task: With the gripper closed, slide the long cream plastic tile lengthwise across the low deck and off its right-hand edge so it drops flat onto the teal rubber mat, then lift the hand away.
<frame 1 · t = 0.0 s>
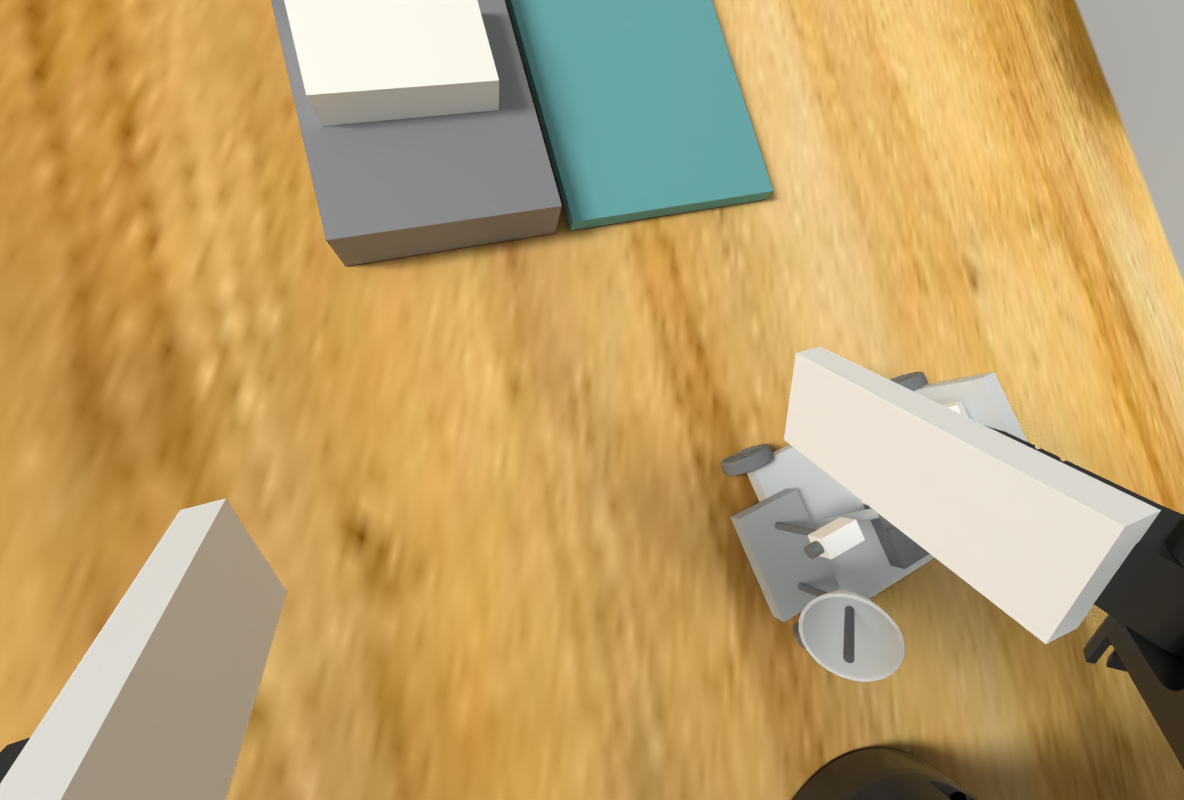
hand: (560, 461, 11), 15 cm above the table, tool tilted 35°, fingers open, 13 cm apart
deck: (420, 108, 27), on the table
toy car: (827, 506, 30), on the table
tile: (401, 66, 24), point 3 cm above the table, touching deck
mat: (635, 89, 31), on the table
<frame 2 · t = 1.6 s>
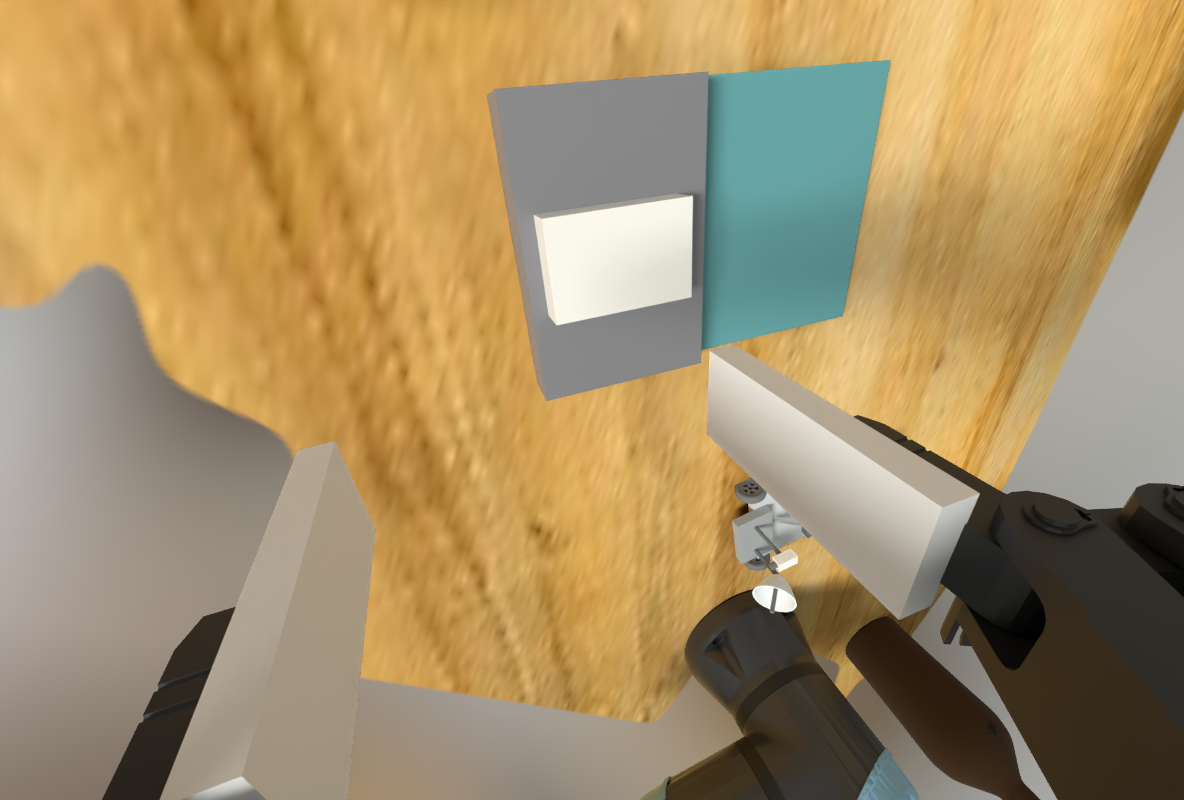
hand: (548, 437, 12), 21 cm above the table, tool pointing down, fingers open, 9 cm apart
deck: (602, 246, 31), on the table
toy car: (781, 497, 51), on the table
tile: (611, 255, 29), point 3 cm above the table, touching deck
mat: (777, 216, 34), on the table
olive oil: (867, 636, 75), on the table
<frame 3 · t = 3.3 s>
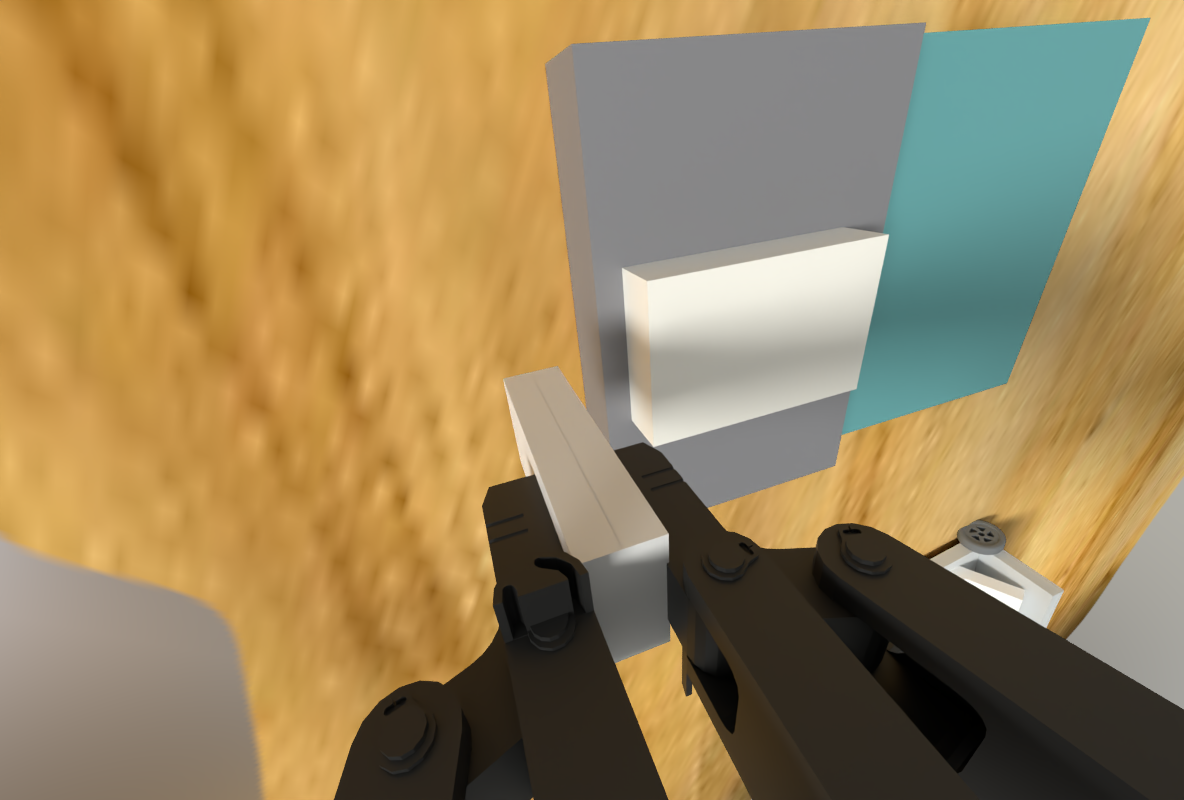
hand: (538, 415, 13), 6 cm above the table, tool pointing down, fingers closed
deck: (705, 303, 20), on the table
toy car: (882, 599, 40), on the table
tile: (735, 326, 18), point 3 cm above the table, touching deck
mat: (946, 251, 24), on the table
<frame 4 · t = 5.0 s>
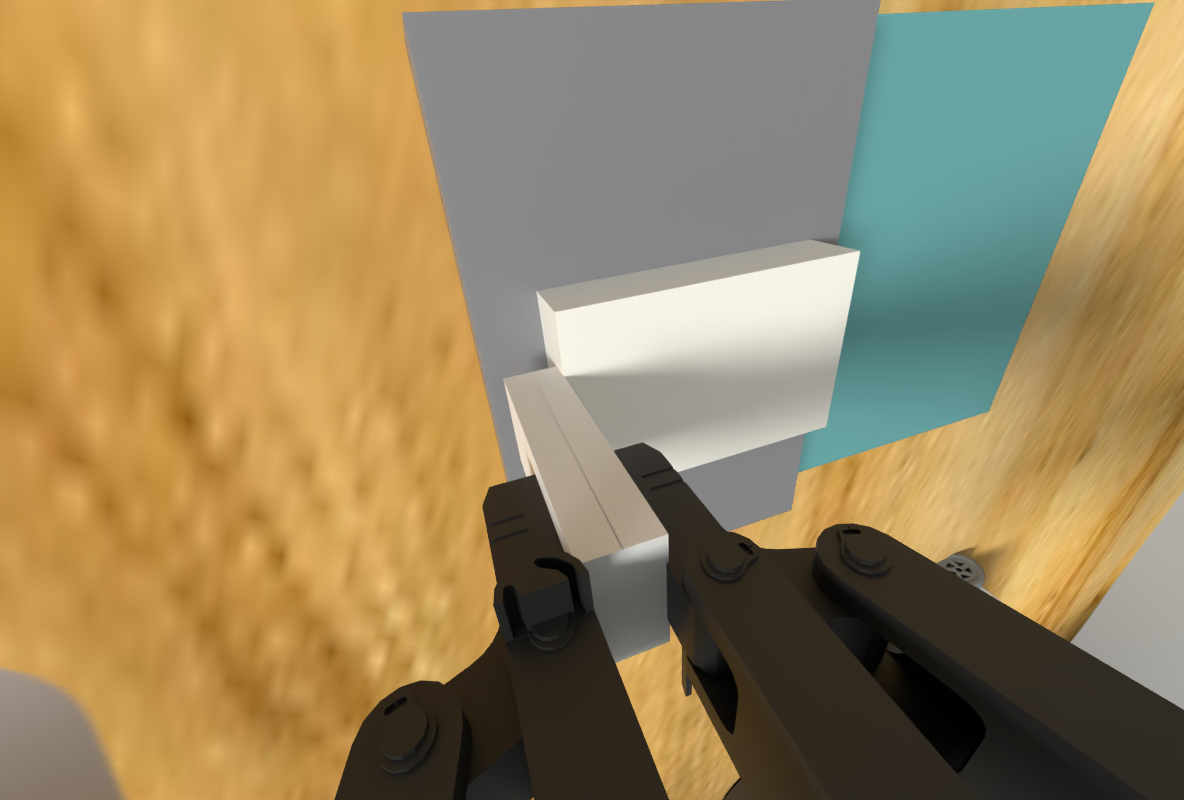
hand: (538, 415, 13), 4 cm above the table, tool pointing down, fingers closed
deck: (636, 329, 18), on the table
toy car: (855, 635, 38), on the table
tile: (683, 355, 15), point 3 cm above the table, touching deck, gripper
mat: (920, 269, 21), on the table
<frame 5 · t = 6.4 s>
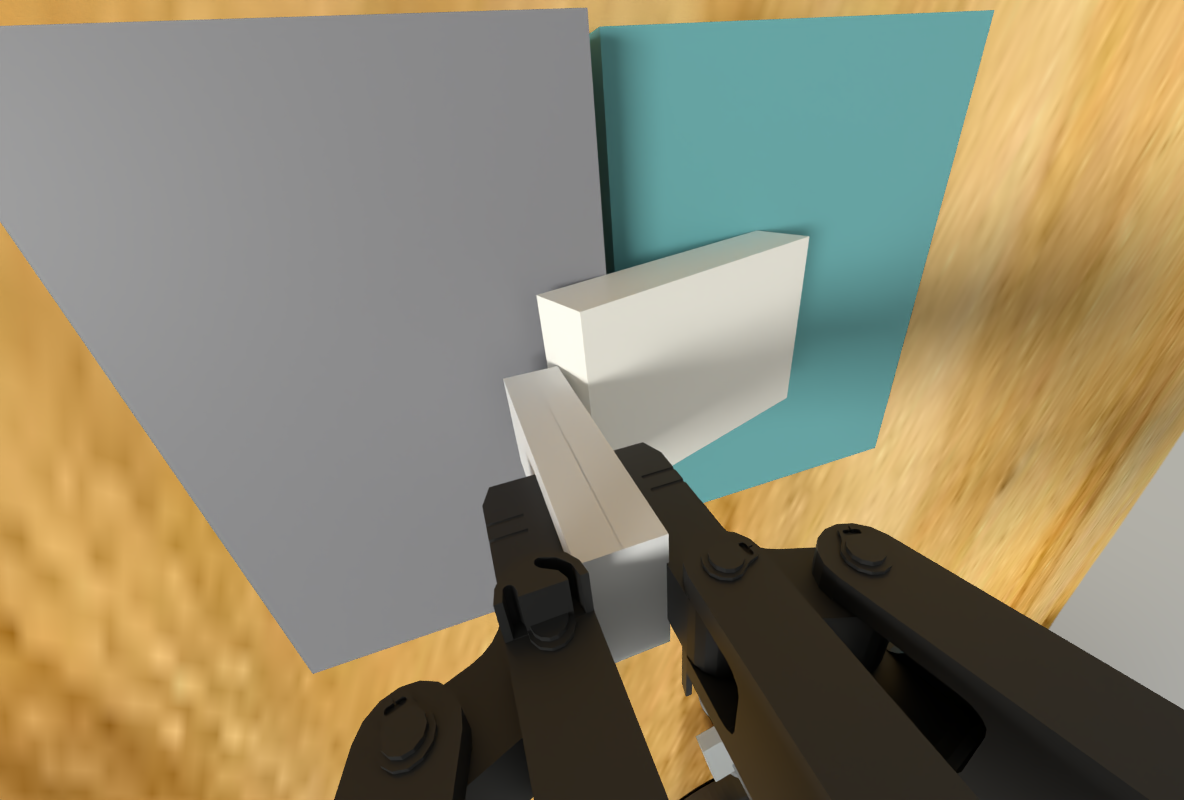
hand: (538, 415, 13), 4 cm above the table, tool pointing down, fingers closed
deck: (417, 376, 16), on the table
toy car: (771, 674, 36), on the table
tile: (664, 347, 16), point 2 cm above the table, tilted 17°, touching gripper
mat: (767, 301, 19), on the table
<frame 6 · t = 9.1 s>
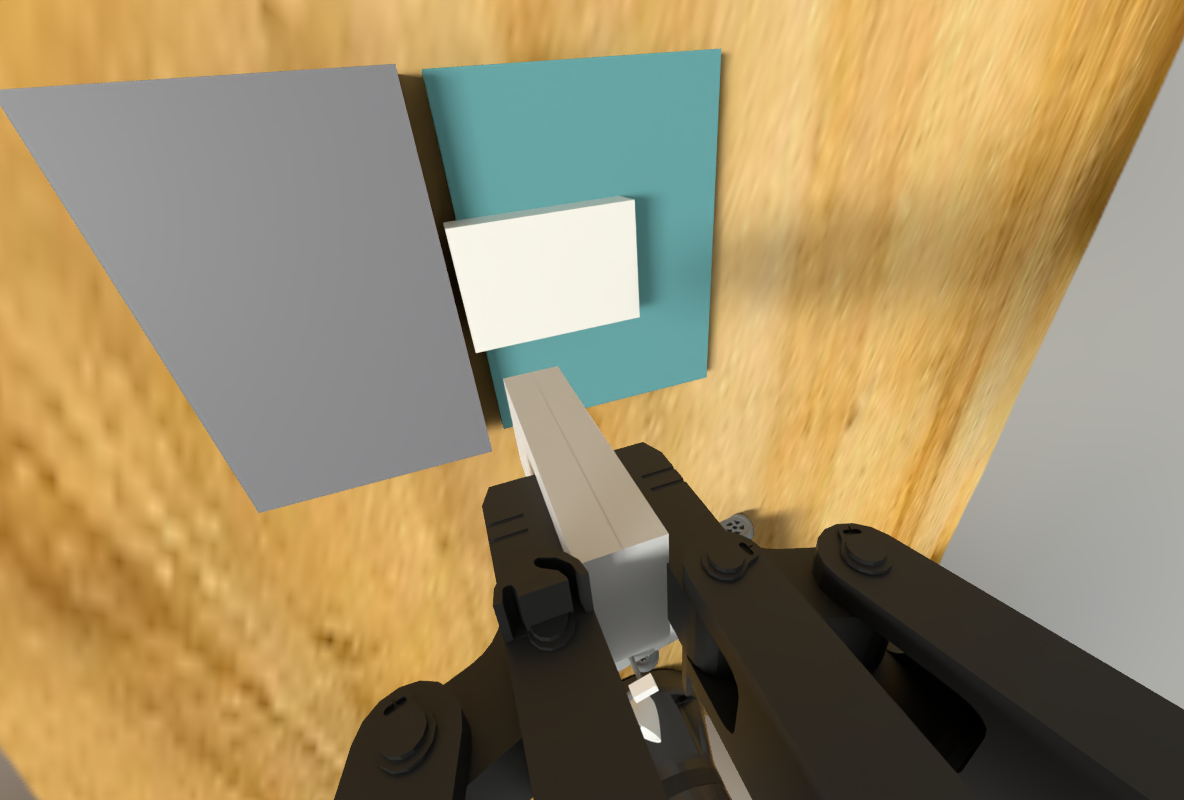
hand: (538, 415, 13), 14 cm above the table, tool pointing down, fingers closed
deck: (326, 304, 23), on the table
toy car: (666, 587, 44), on the table
tile: (544, 268, 24), point 1 cm above the table, touching mat
mat: (593, 257, 26), on the table
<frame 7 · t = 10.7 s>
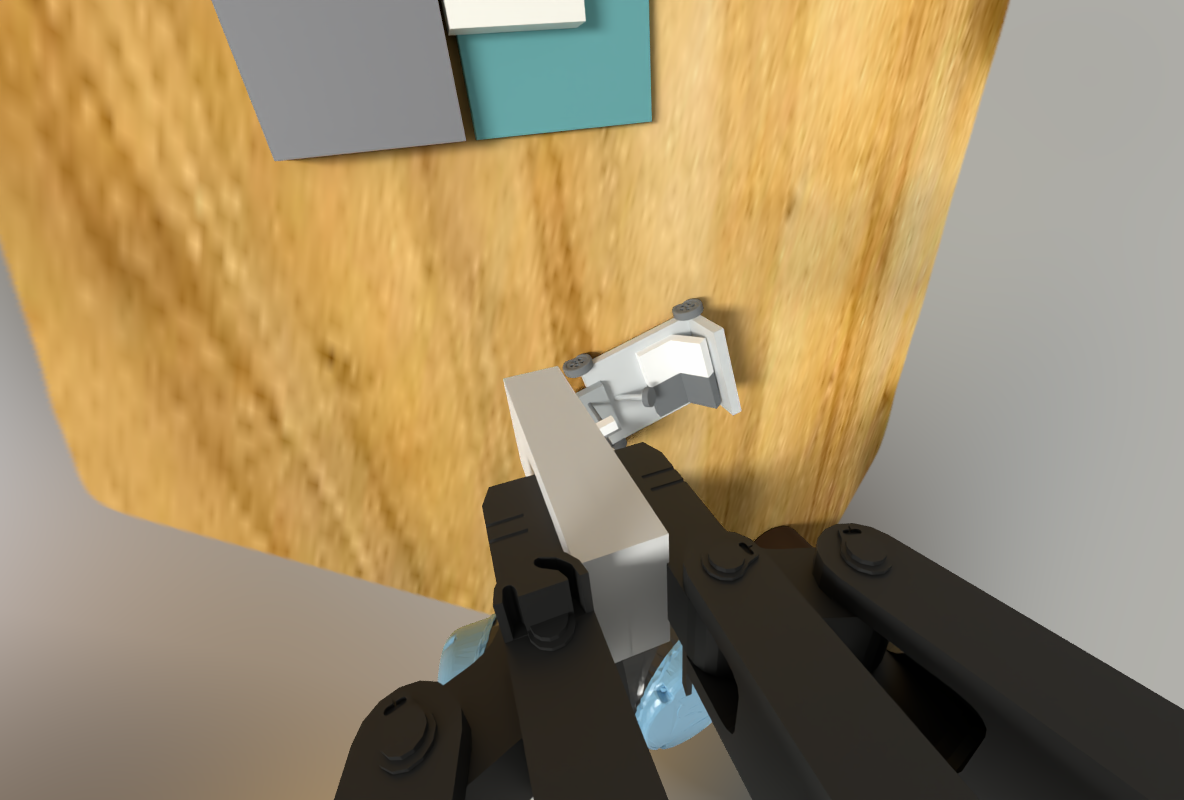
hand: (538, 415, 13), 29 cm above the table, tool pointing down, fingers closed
toy car: (631, 379, 50), on the table
olive oil: (769, 548, 72), on the table
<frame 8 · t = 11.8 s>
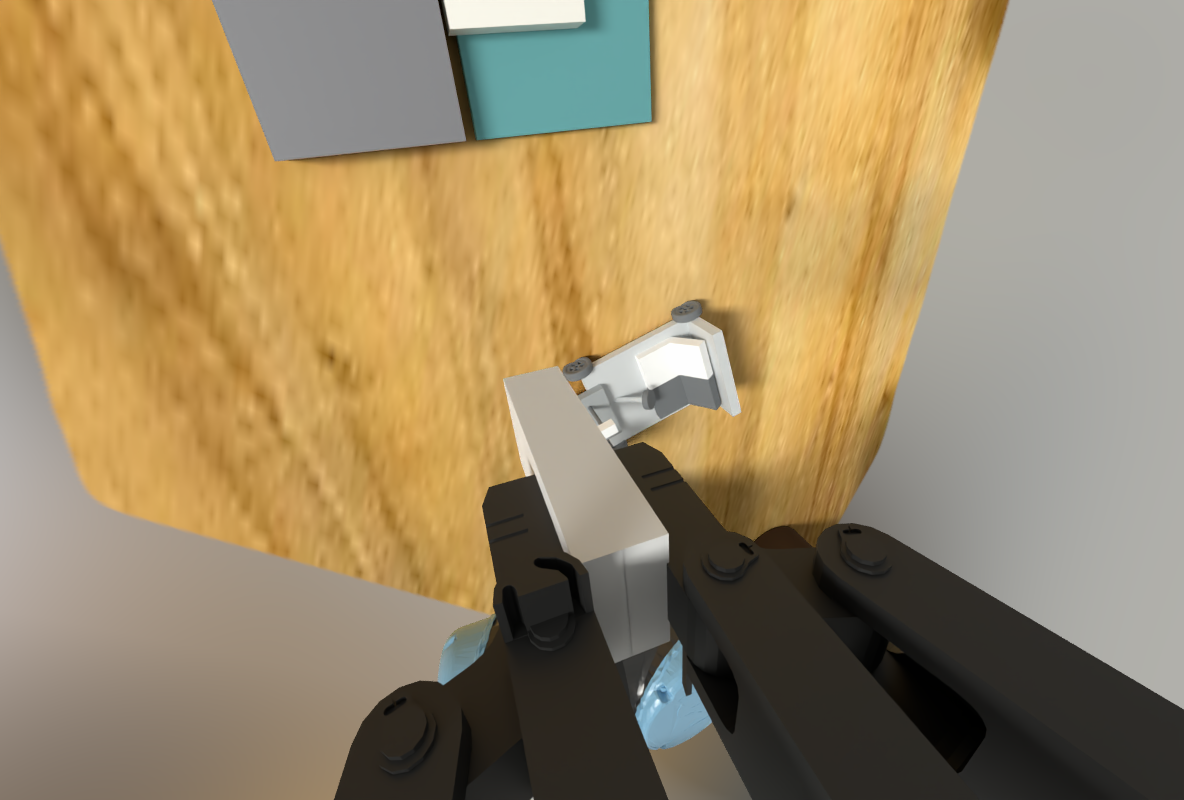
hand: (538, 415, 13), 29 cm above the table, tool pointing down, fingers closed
toy car: (631, 381, 50), on the table
olive oil: (769, 548, 72), on the table
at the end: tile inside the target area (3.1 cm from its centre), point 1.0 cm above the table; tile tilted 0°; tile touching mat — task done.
